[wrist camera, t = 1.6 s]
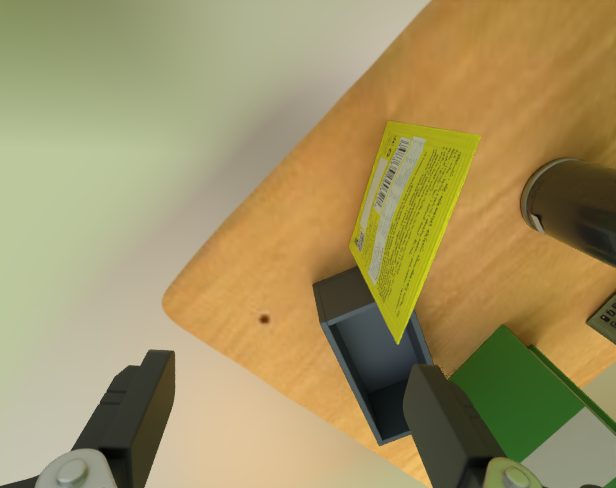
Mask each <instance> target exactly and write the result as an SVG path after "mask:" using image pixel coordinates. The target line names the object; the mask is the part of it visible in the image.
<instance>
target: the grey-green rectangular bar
mask: <svg viewBox="0 0 616 488" xmlns="http://www.w3.org/2000/svg"><path fill="white" fill-rule="evenodd" d="M586 324H587V325H589V326H590V327H592V328H593V329H594V330H596V331H597V332H599V333H600V334H601V335H603V336H604V337H606V338H607V339H608V340H610V341H611V342H613V343H614V344H615V345H616V294H615V295H614V296H613V297H612V298H611V299H610V300H609V301H608V302H607V303H606V304H605V305H604V306H603V307H602V308H601V309H600V310H599V311H598V312H597V313H596V314H595V315H594V316H593V317H592V318H591V319H590V320H589V321H588V322H587V323H586Z"/></svg>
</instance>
